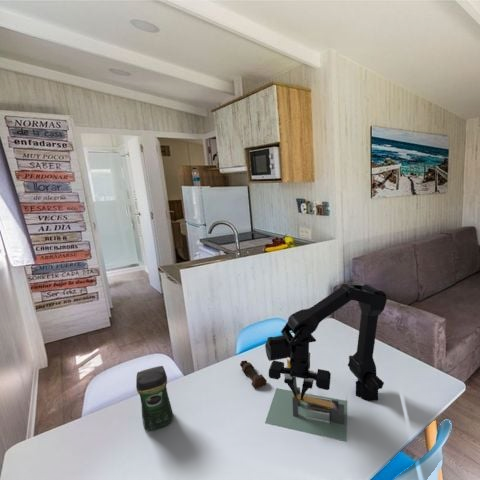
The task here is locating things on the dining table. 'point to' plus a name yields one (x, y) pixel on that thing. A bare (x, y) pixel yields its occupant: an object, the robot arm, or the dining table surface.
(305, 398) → the brown long flat bar
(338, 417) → the block
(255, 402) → the dining table surface
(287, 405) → the board
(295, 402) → the lug fork
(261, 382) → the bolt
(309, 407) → the heatsink
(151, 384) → the coffee jar
